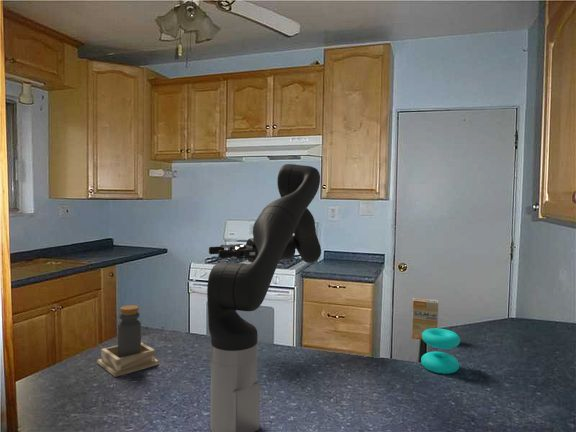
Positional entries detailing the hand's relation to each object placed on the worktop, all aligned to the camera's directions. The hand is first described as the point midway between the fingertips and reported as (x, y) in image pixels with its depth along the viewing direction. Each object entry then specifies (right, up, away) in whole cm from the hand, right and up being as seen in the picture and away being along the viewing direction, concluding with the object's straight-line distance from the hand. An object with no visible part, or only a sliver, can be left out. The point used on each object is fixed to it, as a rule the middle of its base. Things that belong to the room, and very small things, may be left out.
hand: (214, 252), depth 123 cm
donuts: (+64, -32, -7) cm, 72 cm away
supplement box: (+68, -31, +17) cm, 76 cm away
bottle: (-22, -29, -9) cm, 37 cm away
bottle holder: (-22, -30, -8) cm, 38 cm away
